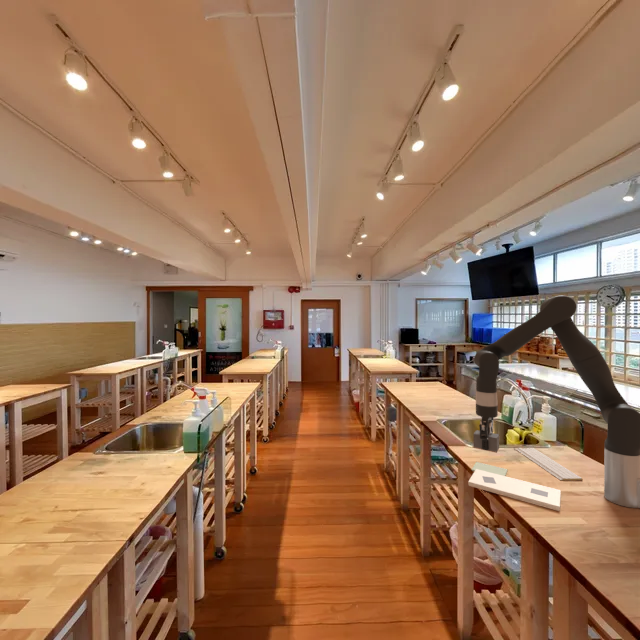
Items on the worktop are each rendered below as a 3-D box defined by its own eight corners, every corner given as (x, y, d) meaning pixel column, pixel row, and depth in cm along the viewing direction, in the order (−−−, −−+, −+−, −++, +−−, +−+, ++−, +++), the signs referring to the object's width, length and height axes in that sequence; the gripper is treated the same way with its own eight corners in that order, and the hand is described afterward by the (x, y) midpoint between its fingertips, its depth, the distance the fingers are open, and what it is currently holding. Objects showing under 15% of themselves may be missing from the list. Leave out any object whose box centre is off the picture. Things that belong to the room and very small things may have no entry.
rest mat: (507, 470, 138) (507, 469, 138) (504, 478, 131) (504, 477, 131) (476, 462, 145) (476, 461, 145) (471, 470, 138) (471, 469, 138)
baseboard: (556, 482, 130) (582, 482, 129) (556, 474, 130) (582, 475, 129) (512, 450, 160) (533, 450, 160) (512, 444, 160) (533, 444, 160)
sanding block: (499, 448, 127) (499, 434, 127) (496, 452, 123) (496, 438, 123) (476, 443, 132) (476, 430, 132) (473, 447, 128) (473, 433, 128)
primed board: (560, 494, 119) (560, 490, 119) (559, 511, 109) (559, 506, 109) (476, 472, 136) (476, 468, 136) (468, 485, 126) (468, 481, 126)
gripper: (494, 408, 120) (494, 456, 120) (500, 400, 131) (500, 443, 131) (471, 405, 124) (471, 451, 124) (479, 398, 136) (480, 439, 136)
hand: (486, 447), depth 128 cm, fingers closed on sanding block, 5 cm apart
